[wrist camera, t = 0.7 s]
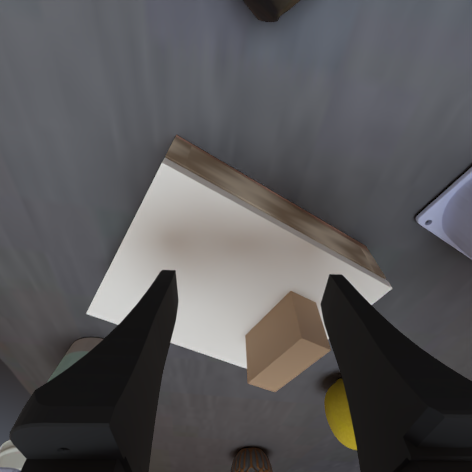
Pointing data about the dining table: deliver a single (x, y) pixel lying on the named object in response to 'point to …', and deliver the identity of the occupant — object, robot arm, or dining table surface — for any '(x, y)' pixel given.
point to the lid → (229, 277)
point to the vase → (251, 461)
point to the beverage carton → (270, 8)
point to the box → (269, 202)
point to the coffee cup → (8, 452)
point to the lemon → (340, 414)
